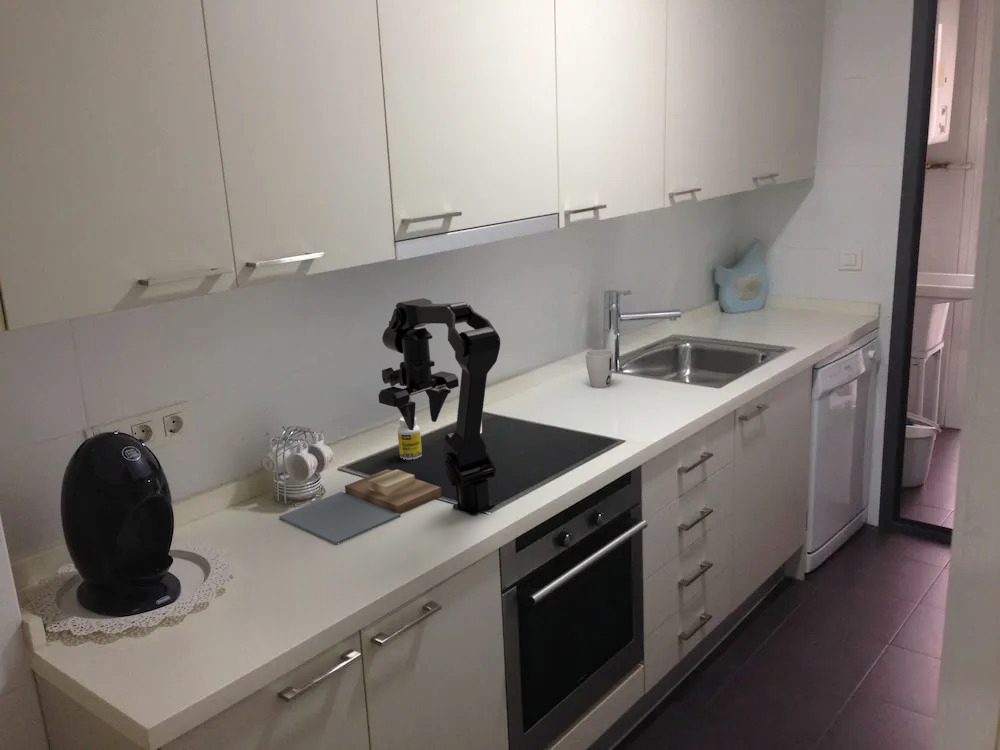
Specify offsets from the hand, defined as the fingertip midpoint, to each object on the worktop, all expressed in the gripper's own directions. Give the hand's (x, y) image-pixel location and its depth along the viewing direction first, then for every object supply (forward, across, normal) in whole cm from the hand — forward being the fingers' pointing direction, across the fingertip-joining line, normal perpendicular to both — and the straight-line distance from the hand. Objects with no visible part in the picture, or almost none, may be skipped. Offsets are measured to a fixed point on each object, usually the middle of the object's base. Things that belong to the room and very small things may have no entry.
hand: (422, 425), depth 198 cm
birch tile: (+10, +10, 0) cm, 14 cm away
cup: (+13, -80, -13) cm, 82 cm away
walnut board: (+13, +10, 0) cm, 16 cm away
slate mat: (+13, +24, 0) cm, 28 cm away
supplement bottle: (+13, -8, -15) cm, 22 cm away
